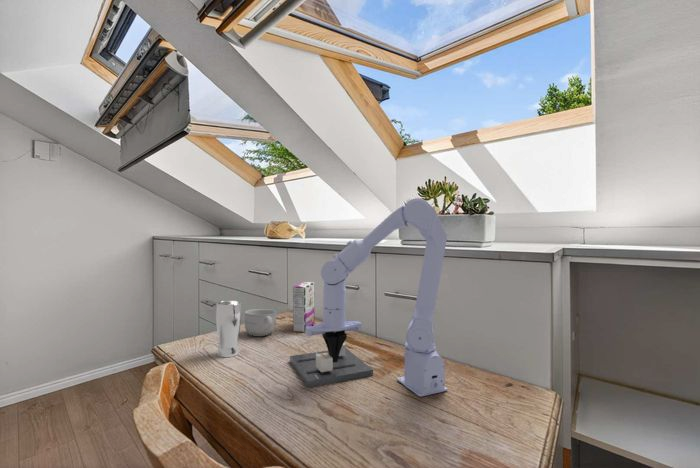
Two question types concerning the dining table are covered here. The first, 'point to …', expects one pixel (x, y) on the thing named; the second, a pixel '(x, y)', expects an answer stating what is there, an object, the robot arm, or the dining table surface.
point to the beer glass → (228, 327)
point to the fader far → (343, 350)
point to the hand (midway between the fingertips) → (333, 360)
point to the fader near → (324, 362)
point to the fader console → (342, 371)
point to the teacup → (260, 321)
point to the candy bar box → (303, 306)
